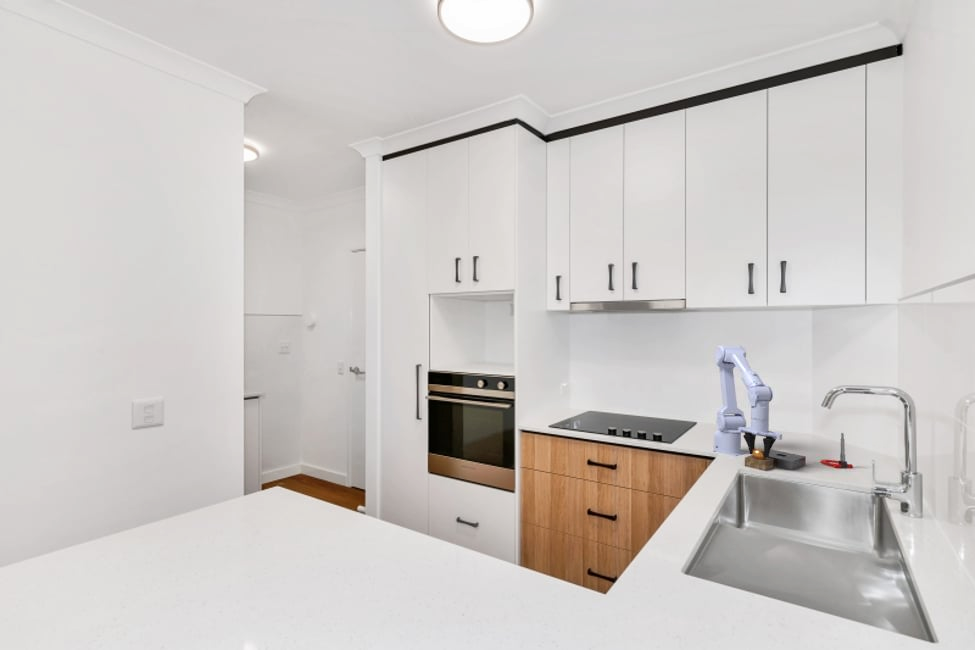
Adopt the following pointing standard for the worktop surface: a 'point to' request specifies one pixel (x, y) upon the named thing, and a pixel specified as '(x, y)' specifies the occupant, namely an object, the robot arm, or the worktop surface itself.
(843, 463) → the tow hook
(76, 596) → the worktop surface
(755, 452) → the pin
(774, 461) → the hitch block
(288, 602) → the worktop surface
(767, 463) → the block
